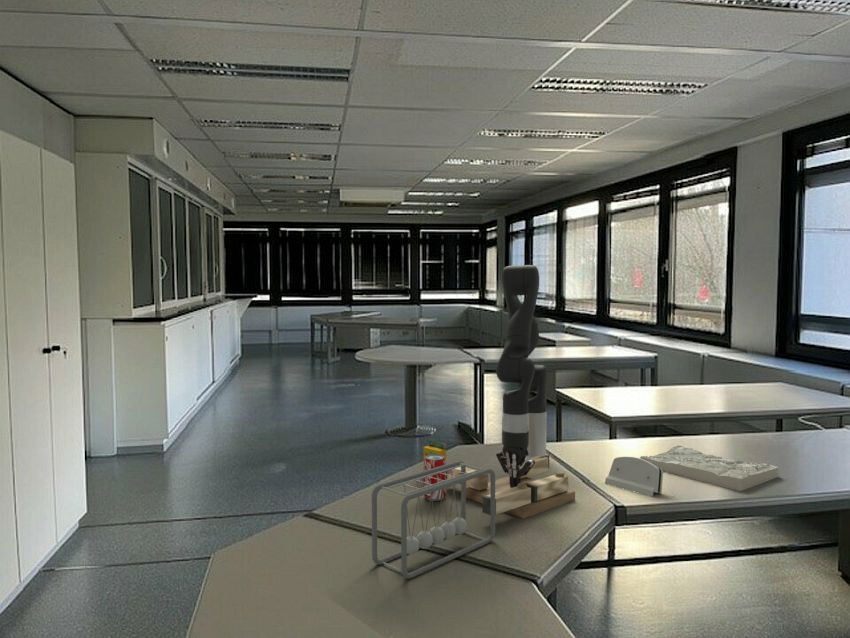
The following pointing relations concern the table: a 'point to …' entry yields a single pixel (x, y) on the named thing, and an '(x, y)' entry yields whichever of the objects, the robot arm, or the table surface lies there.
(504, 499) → the stool seat
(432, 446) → the crayon box
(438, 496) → the soda can
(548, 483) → the stool leg
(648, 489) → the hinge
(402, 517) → the newton's cradle
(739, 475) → the topographic model
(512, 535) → the table surface
